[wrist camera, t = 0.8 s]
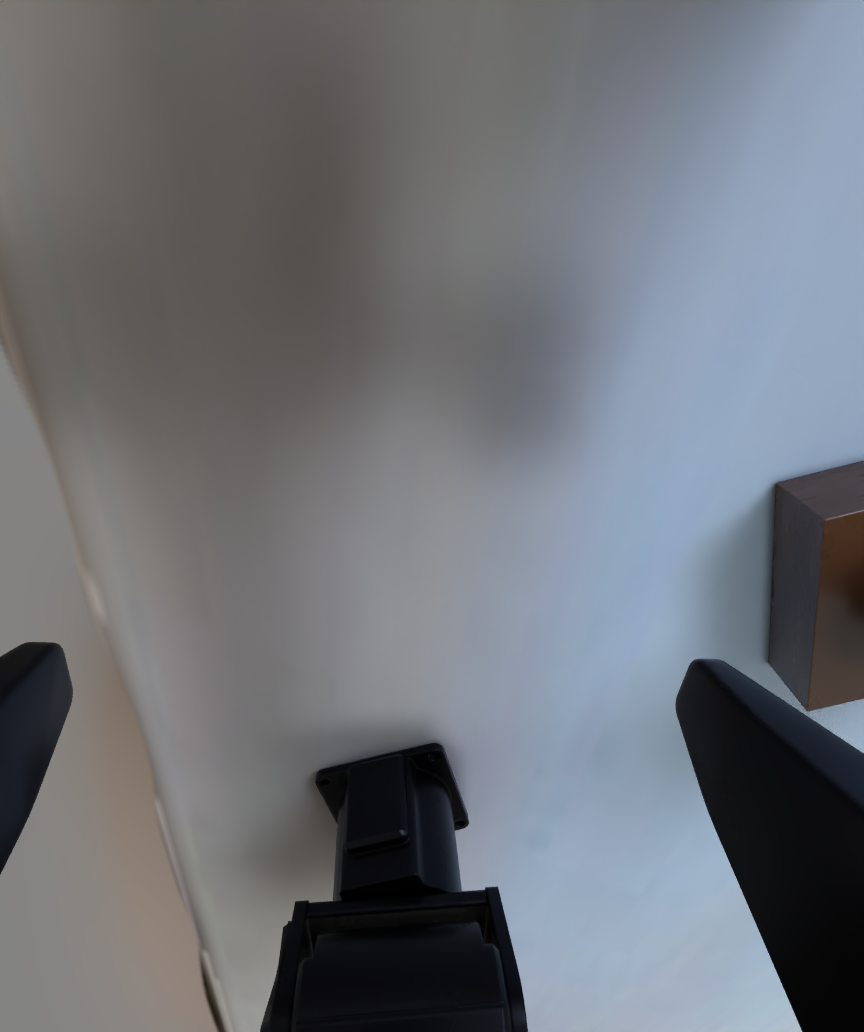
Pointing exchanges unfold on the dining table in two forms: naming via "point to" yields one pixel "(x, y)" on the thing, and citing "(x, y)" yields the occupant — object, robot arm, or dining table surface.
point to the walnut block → (819, 587)
